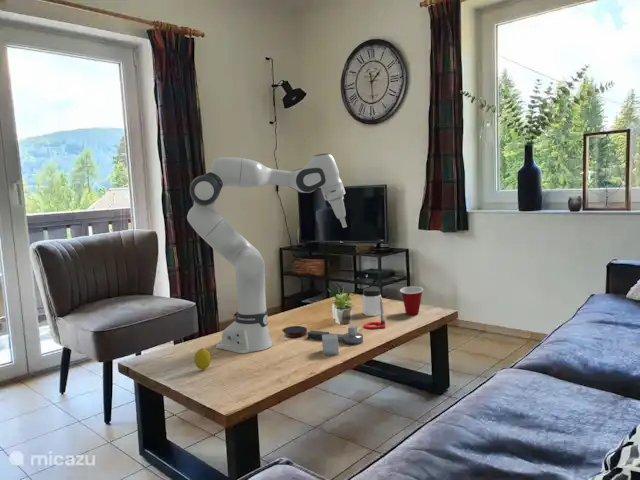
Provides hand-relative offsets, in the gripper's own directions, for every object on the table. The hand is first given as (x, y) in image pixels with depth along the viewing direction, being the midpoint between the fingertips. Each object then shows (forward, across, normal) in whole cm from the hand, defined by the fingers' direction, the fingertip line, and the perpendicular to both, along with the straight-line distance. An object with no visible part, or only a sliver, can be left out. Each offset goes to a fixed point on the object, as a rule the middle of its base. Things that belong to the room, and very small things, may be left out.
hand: (344, 225), depth 203 cm
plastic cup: (+54, -28, +17) cm, 63 cm away
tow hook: (+48, -10, -1) cm, 49 cm away
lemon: (+28, +35, -62) cm, 77 cm away
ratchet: (+42, +7, -18) cm, 47 cm away
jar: (+50, -30, -1) cm, 58 cm away
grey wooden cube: (+41, +21, -20) cm, 50 cm away
